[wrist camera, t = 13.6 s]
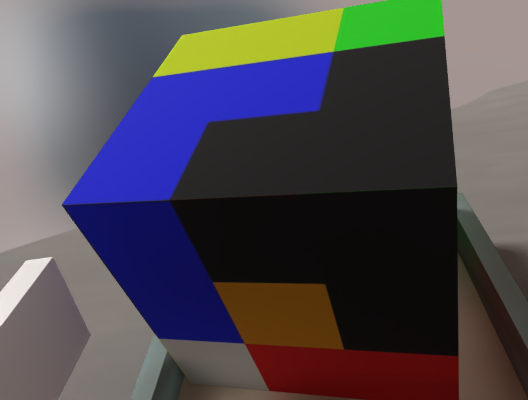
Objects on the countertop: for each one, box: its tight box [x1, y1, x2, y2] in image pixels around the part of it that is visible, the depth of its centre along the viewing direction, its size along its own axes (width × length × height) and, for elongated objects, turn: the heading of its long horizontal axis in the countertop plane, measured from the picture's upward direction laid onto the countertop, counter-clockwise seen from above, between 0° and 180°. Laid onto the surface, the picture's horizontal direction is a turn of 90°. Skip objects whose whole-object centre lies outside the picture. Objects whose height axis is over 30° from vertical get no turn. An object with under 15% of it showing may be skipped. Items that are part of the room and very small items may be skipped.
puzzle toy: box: [62, 0, 459, 400], centre depth 18 cm, size 10×10×10 cm
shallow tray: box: [130, 193, 528, 400], centre depth 20 cm, size 14×14×3 cm
